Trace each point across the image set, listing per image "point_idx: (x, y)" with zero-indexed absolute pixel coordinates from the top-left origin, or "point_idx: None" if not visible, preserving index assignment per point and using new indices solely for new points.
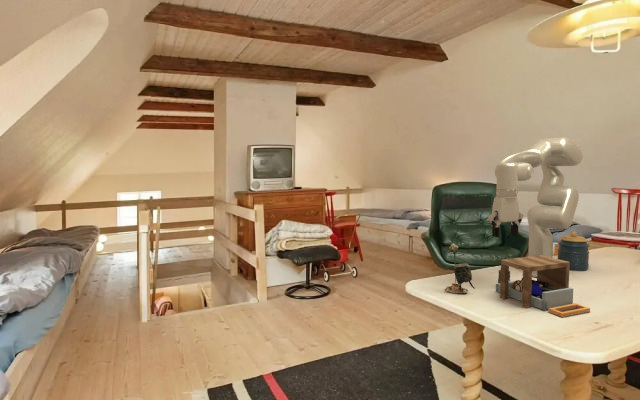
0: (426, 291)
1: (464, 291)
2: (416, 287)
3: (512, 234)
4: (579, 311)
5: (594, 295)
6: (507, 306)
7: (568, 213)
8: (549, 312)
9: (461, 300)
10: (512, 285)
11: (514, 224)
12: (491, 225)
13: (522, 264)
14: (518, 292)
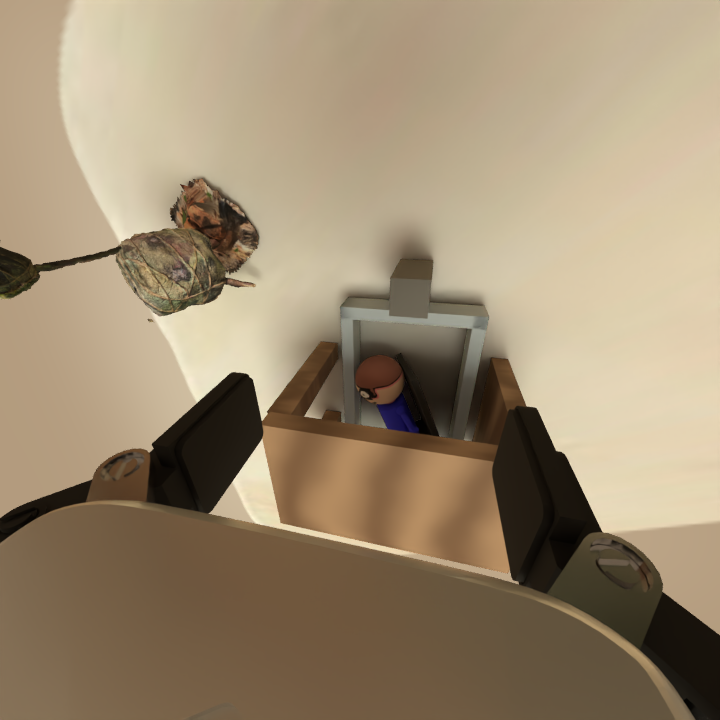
0: (112, 179)
1: (236, 253)
2: (81, 108)
3: (504, 430)
4: None
5: (626, 462)
6: None
7: None
8: None
9: (197, 308)
10: (358, 369)
11: (542, 585)
12: (110, 466)
13: (290, 499)
14: (344, 398)
